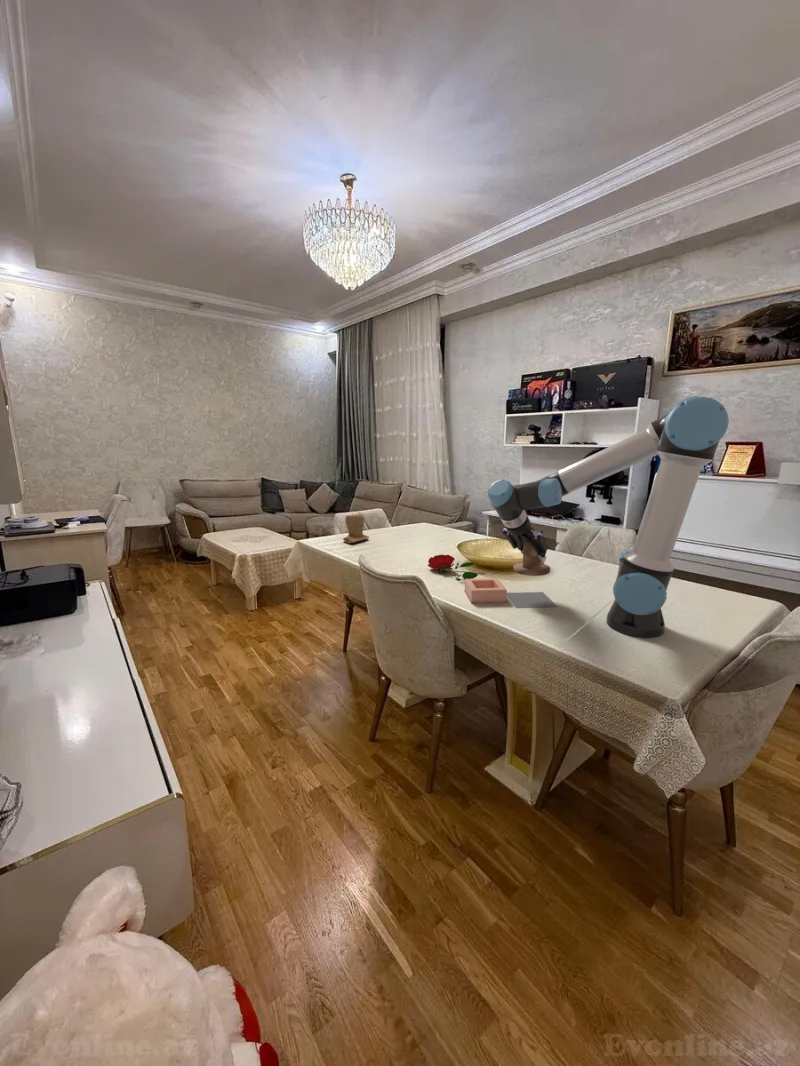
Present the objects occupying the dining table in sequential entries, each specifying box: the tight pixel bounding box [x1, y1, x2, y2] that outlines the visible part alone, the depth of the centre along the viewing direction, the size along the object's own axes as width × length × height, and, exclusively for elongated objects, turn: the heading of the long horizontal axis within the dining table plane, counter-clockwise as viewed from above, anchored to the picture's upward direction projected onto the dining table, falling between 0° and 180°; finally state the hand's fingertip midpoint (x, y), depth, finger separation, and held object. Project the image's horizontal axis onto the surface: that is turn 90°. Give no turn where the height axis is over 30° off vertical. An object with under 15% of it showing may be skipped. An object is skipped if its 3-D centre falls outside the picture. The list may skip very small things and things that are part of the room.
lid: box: [512, 539, 551, 577], centre depth 145 cm, size 12×12×11 cm
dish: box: [464, 577, 508, 604], centre depth 152 cm, size 12×12×5 cm
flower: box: [427, 554, 486, 581], centre depth 174 cm, size 9×10×30 cm
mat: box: [506, 591, 559, 609], centre depth 149 cm, size 14×14×1 cm
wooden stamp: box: [342, 513, 370, 544], centre depth 234 cm, size 15×12×15 cm
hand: (536, 559), depth 148 cm, fingers closed on lid, 4 cm apart
